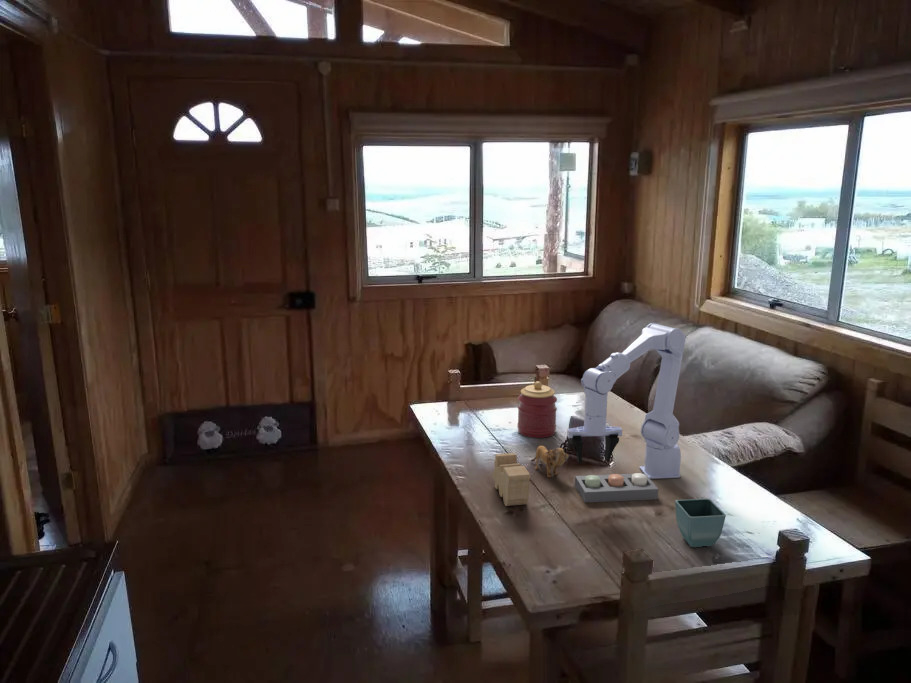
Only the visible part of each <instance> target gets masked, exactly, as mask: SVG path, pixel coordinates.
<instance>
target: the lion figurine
mask: <svg viewBox="0 0 911 683" xmlns="http://www.w3.org/2000/svg"><path fill="white" fill-rule="evenodd" d="M568 459H569V454H567V453H566V452H565V451H564V448H562V447H557V448H554V449H549V450H548V449H547V447H546V446H544V445H539V446H538V447H537V448H536V451H535V457H534V458H532V459H530V462H535V468H534V469H535V470H539V469H540V466H539V465H544V464H545V465H546V476H547V478H552V474H553V475H555V476H557V475H558V472H557V469H558V468H560V466H563V464H565V462H567V460H568ZM551 469H552V473H551Z"/></svg>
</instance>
